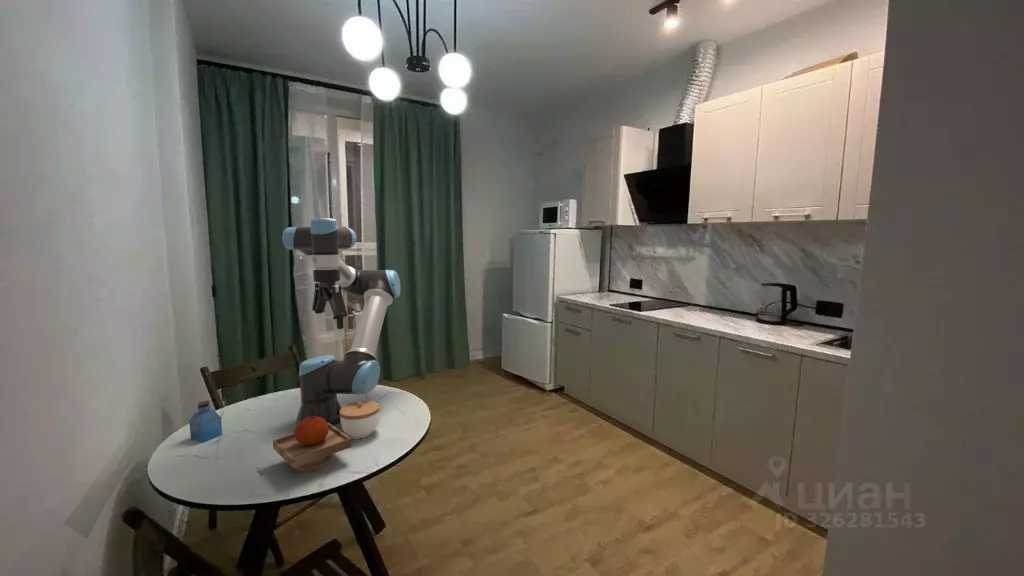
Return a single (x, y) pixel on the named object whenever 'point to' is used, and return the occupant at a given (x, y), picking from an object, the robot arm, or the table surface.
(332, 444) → the tray
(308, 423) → the fruit
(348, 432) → the lidded bowl
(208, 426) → the perfume bottle
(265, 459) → the table surface
